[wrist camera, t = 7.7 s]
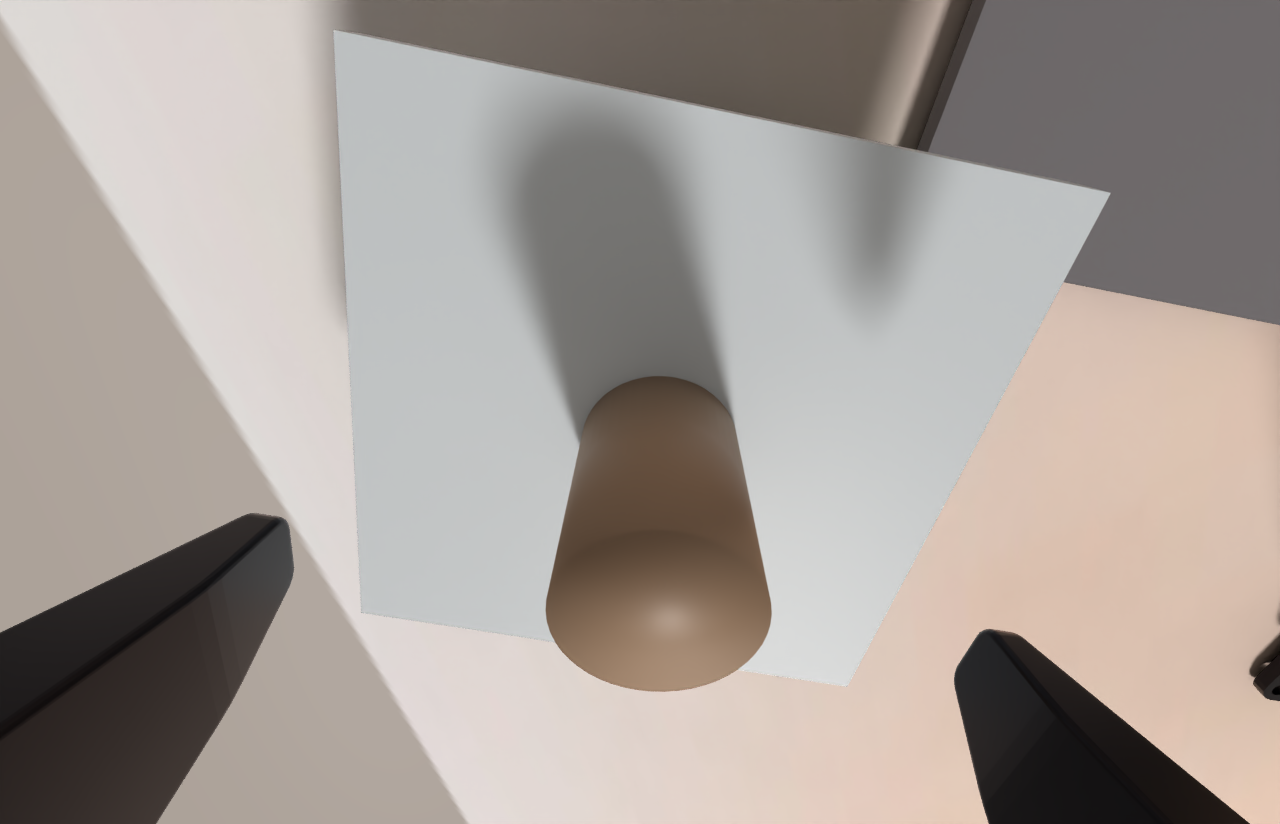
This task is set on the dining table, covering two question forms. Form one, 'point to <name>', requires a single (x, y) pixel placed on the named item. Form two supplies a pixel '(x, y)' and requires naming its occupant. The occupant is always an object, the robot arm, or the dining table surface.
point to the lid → (664, 361)
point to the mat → (1136, 135)
